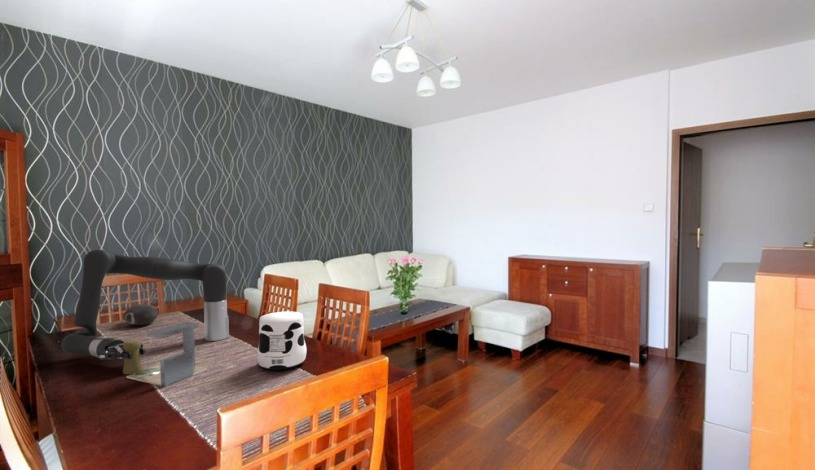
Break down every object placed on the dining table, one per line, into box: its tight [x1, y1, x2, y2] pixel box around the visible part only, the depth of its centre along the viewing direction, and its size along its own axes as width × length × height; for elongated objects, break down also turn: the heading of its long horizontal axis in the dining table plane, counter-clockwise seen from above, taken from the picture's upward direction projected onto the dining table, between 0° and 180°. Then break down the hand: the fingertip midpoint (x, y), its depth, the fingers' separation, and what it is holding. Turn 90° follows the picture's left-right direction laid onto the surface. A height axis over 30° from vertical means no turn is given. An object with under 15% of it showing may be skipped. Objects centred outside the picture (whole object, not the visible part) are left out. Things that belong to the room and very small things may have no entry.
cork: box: [122, 339, 144, 375], centre depth 141 cm, size 6×6×11 cm
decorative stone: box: [123, 303, 159, 327], centre depth 203 cm, size 19×14×10 cm
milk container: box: [256, 311, 308, 371], centre depth 146 cm, size 17×17×18 cm
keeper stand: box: [126, 321, 207, 388], centre depth 138 cm, size 19×16×16 cm
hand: (137, 353), depth 140 cm, fingers closed on cork, 4 cm apart
